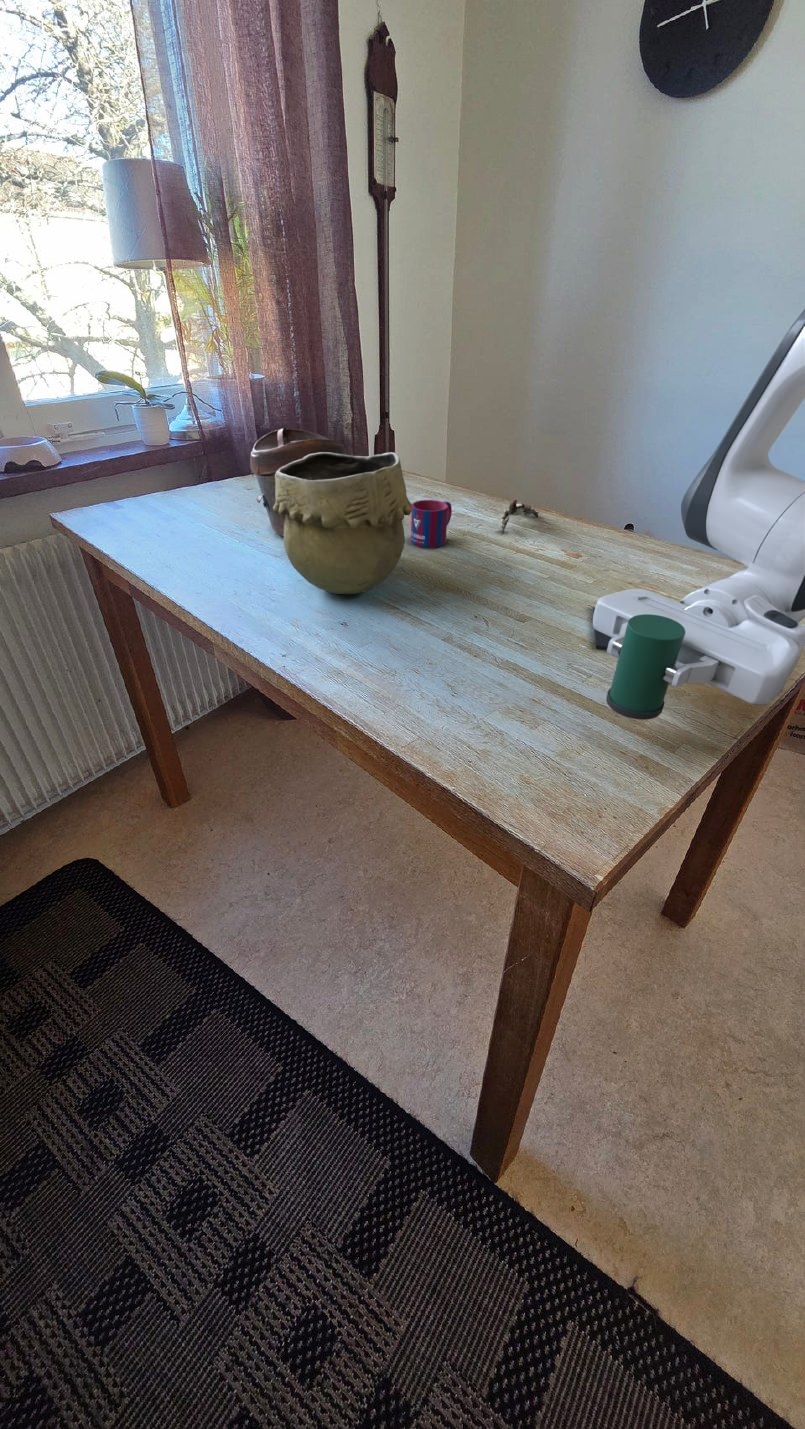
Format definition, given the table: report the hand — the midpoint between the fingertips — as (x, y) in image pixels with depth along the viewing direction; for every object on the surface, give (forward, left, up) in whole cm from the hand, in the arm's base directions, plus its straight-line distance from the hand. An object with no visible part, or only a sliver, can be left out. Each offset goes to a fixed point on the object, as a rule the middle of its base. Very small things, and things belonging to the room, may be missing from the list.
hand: (641, 663), depth 59 cm
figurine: (+16, -70, -11) cm, 72 cm away
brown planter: (+57, -56, -11) cm, 80 cm away
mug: (+31, -57, -11) cm, 65 cm away
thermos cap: (-1, -1, -5) cm, 5 cm away
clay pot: (+41, -32, -11) cm, 53 cm away
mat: (-4, -28, -11) cm, 30 cm away
